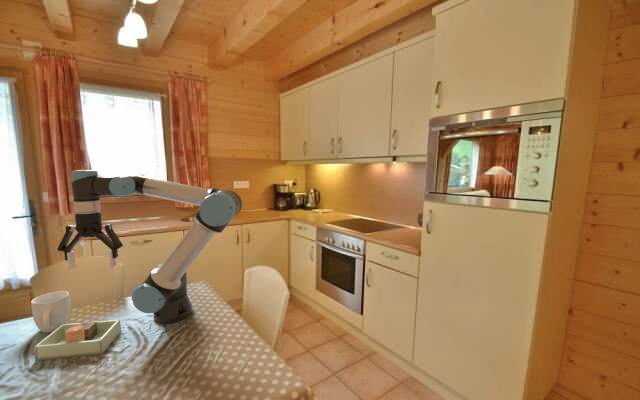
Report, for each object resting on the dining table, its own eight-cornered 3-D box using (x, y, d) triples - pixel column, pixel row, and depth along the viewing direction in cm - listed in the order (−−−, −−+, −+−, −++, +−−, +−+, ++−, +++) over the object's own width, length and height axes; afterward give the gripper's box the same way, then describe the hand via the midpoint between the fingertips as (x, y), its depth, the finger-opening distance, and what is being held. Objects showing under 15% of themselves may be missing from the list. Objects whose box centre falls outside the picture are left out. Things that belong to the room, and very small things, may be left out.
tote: (121, 331, 111) (120, 319, 110) (101, 354, 98) (100, 340, 97) (63, 336, 107) (62, 324, 106) (35, 360, 94) (33, 347, 93)
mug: (67, 335, 108) (64, 303, 106) (27, 345, 102) (23, 311, 100) (74, 317, 120) (71, 288, 119) (38, 325, 114) (35, 295, 113)
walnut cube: (97, 333, 108) (96, 321, 107) (89, 341, 103) (88, 329, 102) (82, 335, 107) (81, 322, 106) (73, 343, 102) (72, 330, 101)
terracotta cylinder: (88, 342, 102) (87, 324, 102) (80, 351, 98) (78, 332, 97) (73, 344, 101) (71, 326, 101) (63, 353, 97) (61, 334, 96)
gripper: (130, 209, 110) (134, 262, 112) (55, 211, 105) (61, 265, 107) (120, 213, 102) (125, 268, 105) (40, 214, 97) (46, 273, 100)
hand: (93, 267), depth 106 cm, fingers open, 13 cm apart
